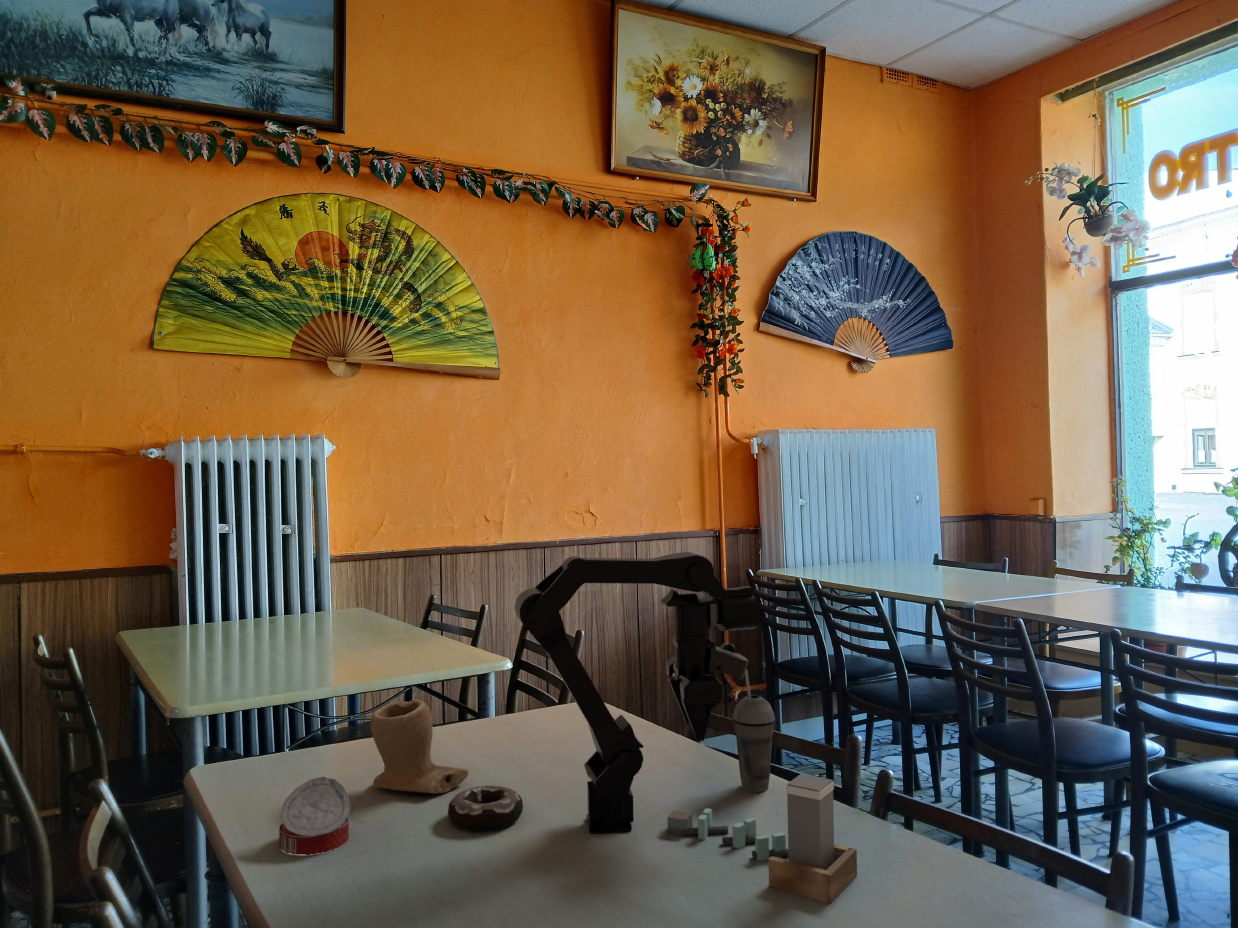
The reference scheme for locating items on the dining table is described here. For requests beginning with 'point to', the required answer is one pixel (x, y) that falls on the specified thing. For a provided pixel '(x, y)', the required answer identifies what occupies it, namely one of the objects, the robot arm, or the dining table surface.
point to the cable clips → (741, 832)
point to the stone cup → (410, 750)
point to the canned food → (315, 817)
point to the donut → (485, 808)
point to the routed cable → (730, 839)
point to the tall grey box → (810, 821)
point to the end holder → (815, 875)
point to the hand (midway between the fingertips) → (694, 731)
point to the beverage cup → (754, 740)
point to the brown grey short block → (679, 822)
